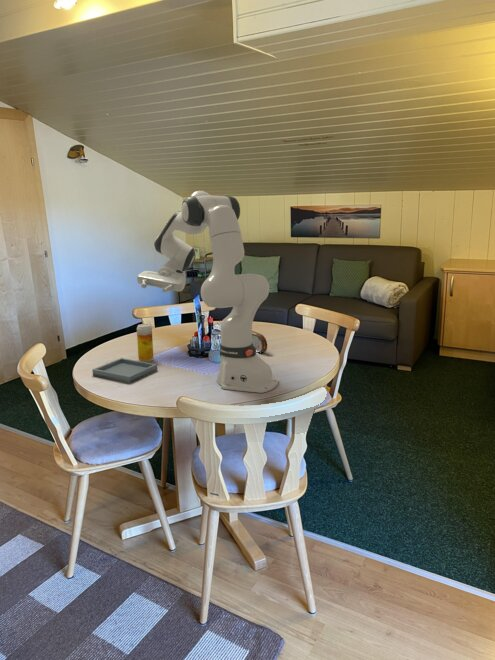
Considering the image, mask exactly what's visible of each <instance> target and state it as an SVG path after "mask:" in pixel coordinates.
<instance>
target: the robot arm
mask: <svg viewBox="0 0 495 660" xmlns="http://www.w3.org/2000/svg"><path fill="white" fill-rule="evenodd" d="M240 216H241V205H240V203H239V200H238V199H237V198H235V197H234V196H230V195H212V194H210V193H208V192H206V191H205V190H197V191H194V192H192V193H191V195H190V196H189V197H186V198H184V199H183V201H182V204H181V210H178V211H175V212H174V214H172V216H171V217H170V218H169V219H168V222H167V223H166V225H165V226H164V228H163V229H162V230H161V232H160V233H159V234H158V235H157V236H156V238H155V240H154V249H155V251H156V252H157V253H159V254H161V255H162V256H163V255H164V256H165V257H166V258H168V261H166V262H165V263H164V264H162V266H161V267H159V268H158V269H157V271H152V270H144V271H142V272H140V273H138V274H137V275H136V280H137V281H136V282H137V284H139V285H140V287H141V289H146V288H147V286H149V287H155V288H159V289H162V292H163V293H164V294H165V293H167V292H171V291H174V292H177V293H178V292H182V291H184V289H185V287H186V282H187V280H186V279H187V278H186V277H187V275H186V271H188V270H189V269H190V268H191V267H192V265H193V264H194V261H195V260H196V250H195V248H194V247H193V246H191V245H189V244H188V243H186V242H185V241H184V240H183V239H180V238H178V237H177V236H175V234H174V233H173V232H174V231H175V230H176V231H180V232H183V233H184V234H188V235H198V234H201V233H202V232H205V230H206V229H207V227H208V233H209V239H210V245H211V252H212V268H211V271H210V273H209V275H208V276H207V278H206V279H205V280H204V281H203V282H202V285H201V288H200V297H201V299H202V302H203V304H205V305H206V307H209V308H215V309H224V308H232V309H231V311H230V313H229V314H228V315H227V316H226V317H225V318H223V319H222V321H221V323H220V343H219V357H220V363H219V369H218V370H219V372H218V376H217V379H216V382H217V383H218V384H219V385H220V388H221V389H222V390H231V391H238V392H239V391H241V392H249V393H258V394H263V393H266V392H270V391H272V390H273V389H275V388H276V387H277V386H278V385H279V379H278V378H277V377H274V376H273V372H272V367H271V365H269V364H268V363H267V362H266V361H265V360H264V359H263V358H261V357H260V356H259V355H258V353H257V352H256V350H257V349H258V346H257V347H254V346H253V344H252V331H253V322H254V318H255V316H256V313H257V310H258V309H259V307H260V306H261V305H262V303H264V301H266V300H267V298H268V296H269V293H270V284H269V282H268V280H267V278H266V276H264V275H263V274H262V275H261V274H256V273H241V274H240V273H239V274H235V272H236V271H235V270H236V269H235V267H236V266H237V265H238V264H239V263H240V262H241V261H243V259H244V257H245V248H244V242H243V237H242V233H241V232H242V231H241V227H240V224H239V218H240Z"/></svg>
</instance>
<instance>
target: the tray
mask: <svg viewBox="0 0 495 660" xmlns="http://www.w3.org/2000/svg"><path fill="white" fill-rule="evenodd" d="M157 371H158V364H157V363H151V362H141V361H140V360H136V359H135V360H134V359H128V358H124V357H119V358H117V359H115V360H113V361H110V362H108V363H106V364H103V365H100V366H98V367H95V368H93V369H92V376H93V377H97V378H101V379H106V380H111V381H115V382H121V383H126V384H132V383H134V382H136V381H138V380H141V379H143V378H144V377H147V376H149V375H151V374H152V373H156V372H157Z"/></svg>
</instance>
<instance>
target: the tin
mask: <svg viewBox="0 0 495 660" xmlns="http://www.w3.org/2000/svg"><path fill="white" fill-rule="evenodd" d="M252 344H253V346H254V347H257V346H258V349H257V351H259V352H263V353H266V352H267V350H268V341H267V339H266V337H265V336H264V335H263V334H262V333H260V332H256V331H254V330H252Z"/></svg>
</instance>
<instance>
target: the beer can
mask: <svg viewBox="0 0 495 660" xmlns="http://www.w3.org/2000/svg"><path fill="white" fill-rule="evenodd" d="M136 337H137V338H136V339H137V354H138V356H137V358H138V361H141V362H146V363H151V362H152V361H153V360H154V343H153V327H152V325H151V324H149V323H141V324H138V325H137V327H136Z"/></svg>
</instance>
